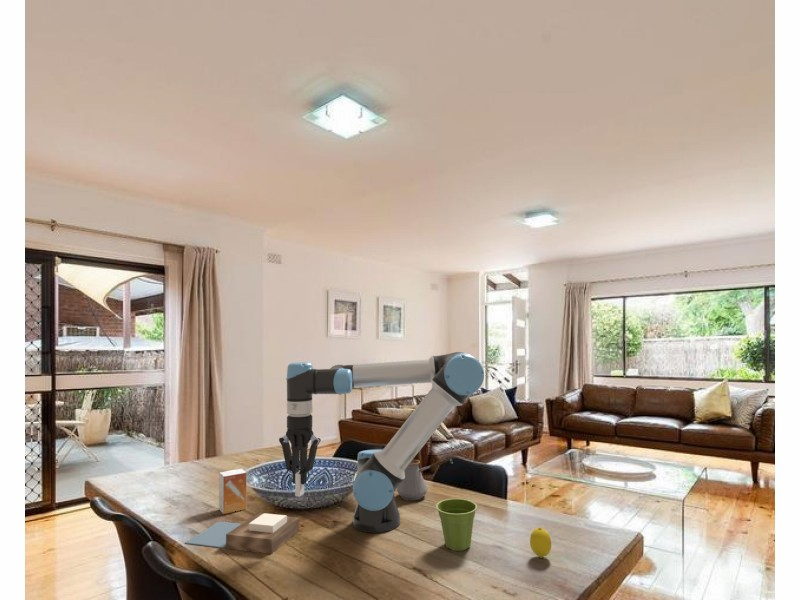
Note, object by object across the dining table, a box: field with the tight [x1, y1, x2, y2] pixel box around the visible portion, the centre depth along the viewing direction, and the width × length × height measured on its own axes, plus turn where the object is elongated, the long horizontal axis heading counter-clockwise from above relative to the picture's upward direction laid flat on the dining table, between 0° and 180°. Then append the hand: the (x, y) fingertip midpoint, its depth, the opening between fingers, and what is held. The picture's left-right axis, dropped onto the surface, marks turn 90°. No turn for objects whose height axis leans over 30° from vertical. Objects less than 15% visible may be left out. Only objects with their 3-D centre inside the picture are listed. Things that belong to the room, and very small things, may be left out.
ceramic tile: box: [249, 512, 288, 533], centre depth 144 cm, size 8×8×2 cm
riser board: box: [225, 513, 300, 555], centre depth 144 cm, size 15×16×4 cm
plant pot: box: [435, 498, 478, 552], centre depth 137 cm, size 12×12×11 cm
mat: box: [184, 521, 242, 549], centre depth 148 cm, size 14×16×1 cm
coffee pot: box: [396, 457, 454, 501], centre depth 177 cm, size 21×12×15 cm, turn 73°
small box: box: [218, 468, 247, 515], centre depth 169 cm, size 8×6×13 cm
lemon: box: [529, 526, 552, 559], centre depth 129 cm, size 6×6×8 cm
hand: (299, 494), depth 141 cm, fingers closed
